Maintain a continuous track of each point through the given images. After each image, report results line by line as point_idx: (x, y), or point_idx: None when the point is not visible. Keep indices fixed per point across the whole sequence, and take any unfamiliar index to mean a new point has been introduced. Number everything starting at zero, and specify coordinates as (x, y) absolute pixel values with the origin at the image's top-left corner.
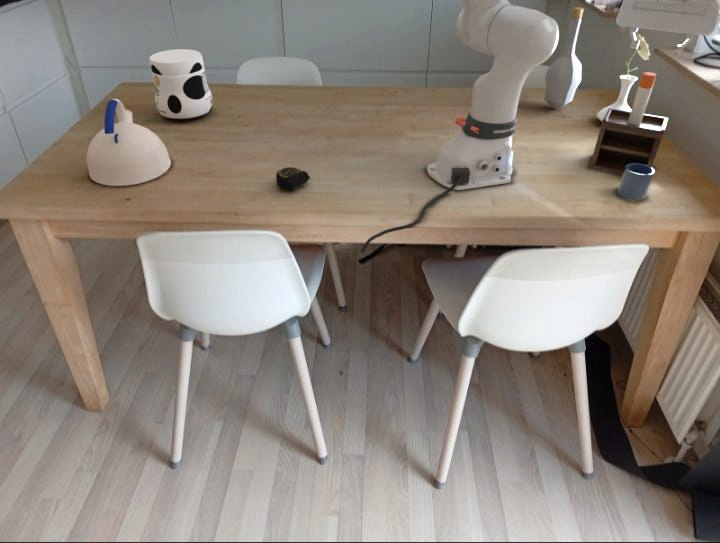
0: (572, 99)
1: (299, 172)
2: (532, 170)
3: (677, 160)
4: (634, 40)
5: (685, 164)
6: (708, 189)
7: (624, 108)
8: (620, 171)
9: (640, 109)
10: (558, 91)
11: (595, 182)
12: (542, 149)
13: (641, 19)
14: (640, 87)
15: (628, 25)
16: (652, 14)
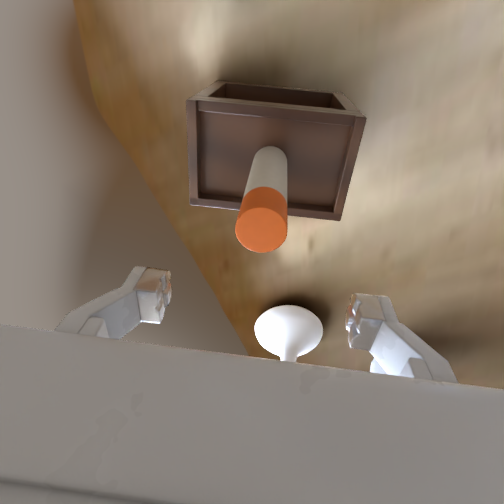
0: (371, 364)
1: None
2: (497, 5)
3: (174, 208)
4: (388, 323)
5: (159, 195)
6: (100, 90)
7: (281, 339)
8: (274, 87)
9: (263, 161)
10: None
11: (330, 5)
12: (446, 157)
13: (438, 438)
14: (281, 193)
15: (501, 394)
16: (371, 484)
